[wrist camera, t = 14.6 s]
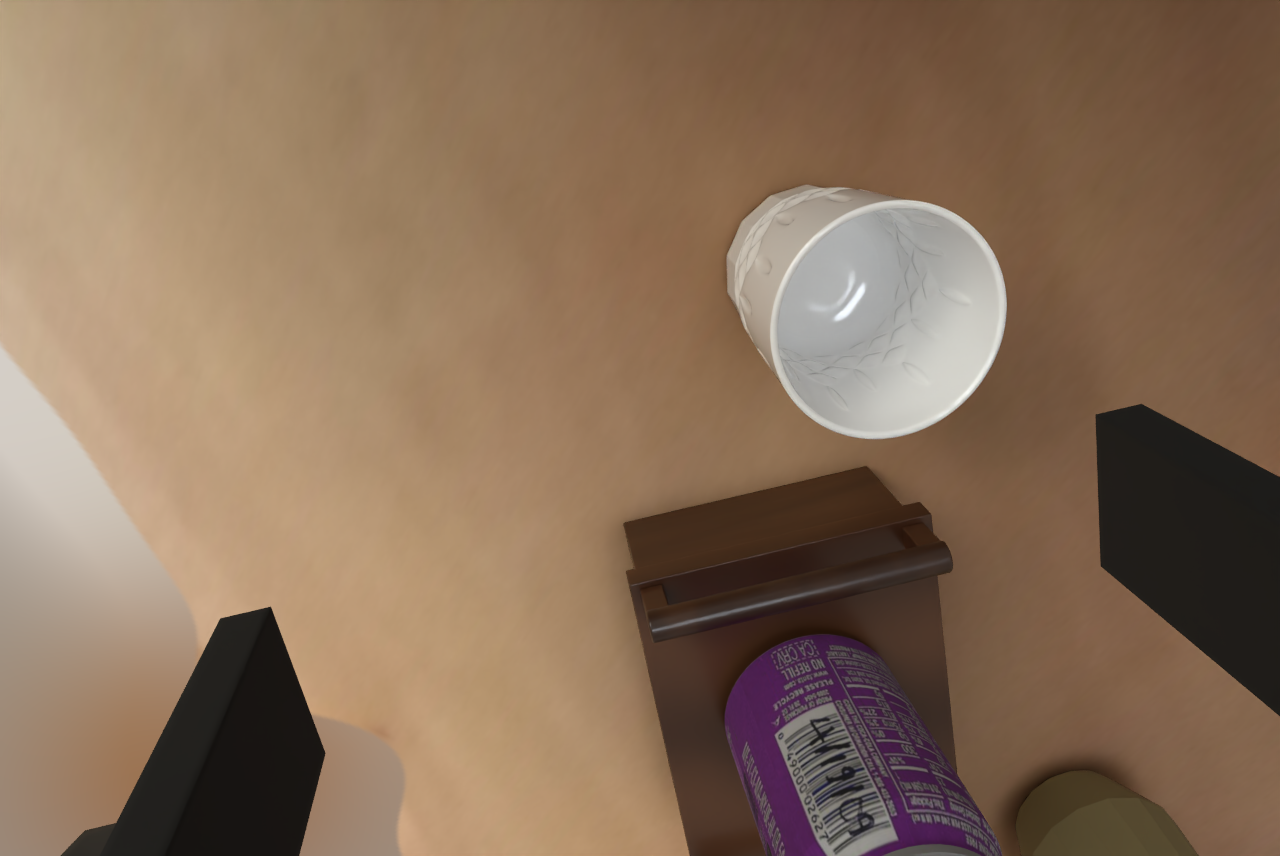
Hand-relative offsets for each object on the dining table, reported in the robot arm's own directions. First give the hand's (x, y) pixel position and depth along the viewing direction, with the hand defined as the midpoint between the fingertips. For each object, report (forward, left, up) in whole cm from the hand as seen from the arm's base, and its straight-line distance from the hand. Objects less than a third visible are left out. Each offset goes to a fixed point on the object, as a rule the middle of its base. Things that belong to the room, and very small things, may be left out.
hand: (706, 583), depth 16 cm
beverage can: (+18, +5, -20) cm, 28 cm away
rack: (+19, +5, -27) cm, 33 cm away
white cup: (+2, +9, -27) cm, 28 cm away
